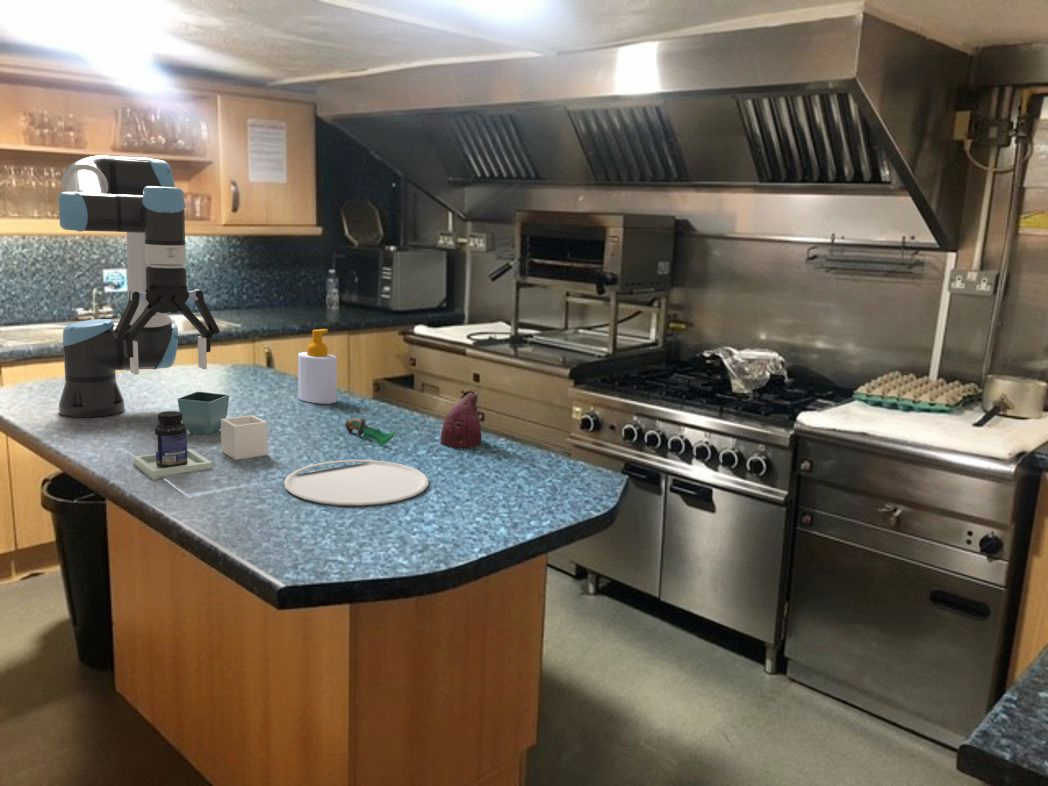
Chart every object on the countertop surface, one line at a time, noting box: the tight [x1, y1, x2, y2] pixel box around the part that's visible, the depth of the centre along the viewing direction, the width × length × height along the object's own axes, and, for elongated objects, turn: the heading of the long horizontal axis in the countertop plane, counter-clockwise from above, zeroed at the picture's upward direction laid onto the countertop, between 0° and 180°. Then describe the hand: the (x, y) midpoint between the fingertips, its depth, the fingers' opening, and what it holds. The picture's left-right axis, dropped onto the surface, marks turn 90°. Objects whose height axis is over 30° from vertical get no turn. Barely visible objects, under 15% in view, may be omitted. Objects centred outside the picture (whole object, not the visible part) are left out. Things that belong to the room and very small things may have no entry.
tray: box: [132, 448, 213, 481], centre depth 180 cm, size 12×12×2 cm
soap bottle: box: [297, 328, 338, 405], centre depth 246 cm, size 13×8×20 cm, turn 58°
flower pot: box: [177, 391, 230, 435], centre depth 207 cm, size 9×9×9 cm
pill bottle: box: [154, 410, 188, 468], centre depth 179 cm, size 6×6×11 cm
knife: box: [344, 418, 396, 446], centre depth 208 cm, size 21×2×5 cm, turn 43°
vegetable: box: [440, 390, 482, 450], centre depth 209 cm, size 10×10×15 cm
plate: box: [283, 459, 429, 507], centre depth 176 cm, size 29×29×1 cm
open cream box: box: [220, 414, 268, 460], centre depth 190 cm, size 7×7×8 cm
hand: (169, 370), depth 176 cm, fingers open, 13 cm apart
